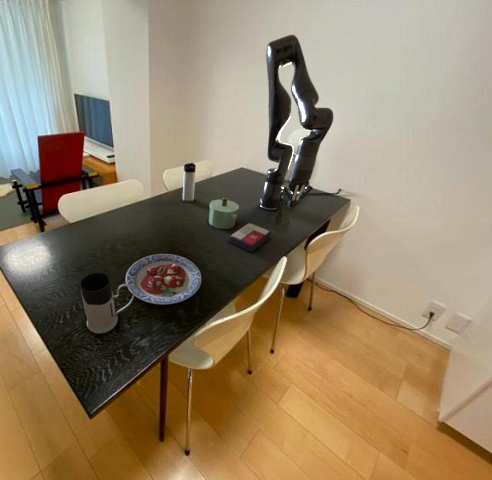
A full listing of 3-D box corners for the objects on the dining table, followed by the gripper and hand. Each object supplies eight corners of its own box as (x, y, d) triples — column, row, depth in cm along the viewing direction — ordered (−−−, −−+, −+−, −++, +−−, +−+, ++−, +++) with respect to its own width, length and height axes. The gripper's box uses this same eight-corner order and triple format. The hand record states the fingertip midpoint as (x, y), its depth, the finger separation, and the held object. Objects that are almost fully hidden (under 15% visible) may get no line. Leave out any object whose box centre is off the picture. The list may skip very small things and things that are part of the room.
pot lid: (227, 199, 131) (229, 190, 129) (244, 211, 121) (246, 201, 118) (204, 204, 126) (204, 194, 124) (219, 216, 116) (220, 206, 113)
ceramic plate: (133, 257, 103) (132, 250, 101) (199, 259, 102) (199, 253, 101) (118, 307, 81) (117, 300, 79) (202, 310, 80) (203, 303, 79)
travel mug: (195, 198, 151) (197, 163, 140) (191, 202, 146) (193, 167, 135) (185, 196, 153) (187, 162, 142) (180, 200, 148) (182, 165, 137)
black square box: (229, 234, 111) (248, 221, 120) (228, 242, 114) (247, 229, 122) (252, 245, 105) (271, 230, 114) (251, 253, 107) (269, 238, 116)
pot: (222, 212, 137) (224, 197, 132) (243, 228, 123) (246, 212, 119) (201, 216, 132) (202, 201, 128) (220, 233, 119) (223, 217, 114)
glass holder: (90, 309, 80) (82, 271, 72) (137, 308, 81) (134, 270, 73) (83, 333, 73) (73, 294, 64) (135, 332, 73) (131, 292, 65)
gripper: (291, 169, 96) (280, 212, 105) (325, 169, 98) (310, 211, 107) (282, 163, 102) (271, 204, 111) (313, 163, 104) (300, 203, 113)
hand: (291, 207), depth 109 cm, fingers closed
